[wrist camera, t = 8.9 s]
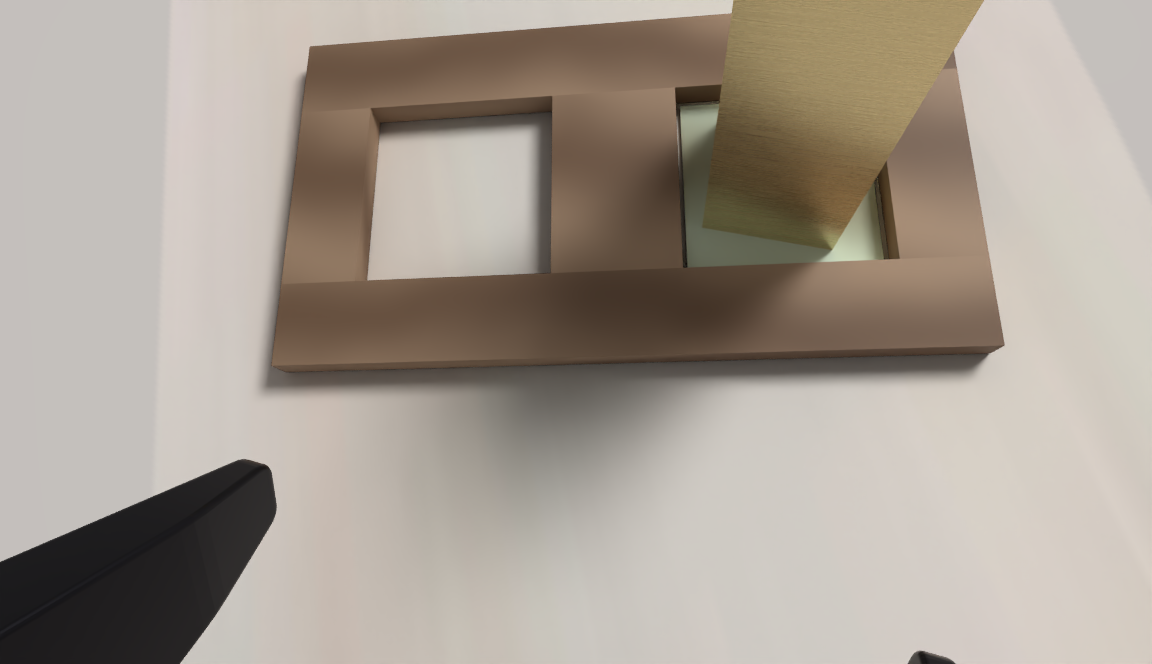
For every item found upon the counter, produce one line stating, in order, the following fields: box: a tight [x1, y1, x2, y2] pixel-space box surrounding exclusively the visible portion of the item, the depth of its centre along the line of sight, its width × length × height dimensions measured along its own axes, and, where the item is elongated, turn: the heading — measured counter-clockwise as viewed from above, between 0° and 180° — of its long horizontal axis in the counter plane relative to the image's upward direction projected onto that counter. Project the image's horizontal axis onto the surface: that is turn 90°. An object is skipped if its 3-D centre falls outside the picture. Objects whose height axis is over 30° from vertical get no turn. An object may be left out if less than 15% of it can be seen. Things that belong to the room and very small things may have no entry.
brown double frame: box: [271, 14, 1004, 372], centre depth 26 cm, size 13×24×1 cm, turn 90°
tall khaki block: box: [702, 0, 984, 250], centre depth 20 cm, size 4×4×12 cm
